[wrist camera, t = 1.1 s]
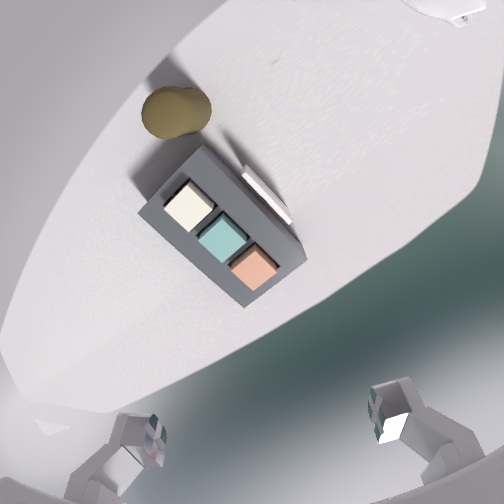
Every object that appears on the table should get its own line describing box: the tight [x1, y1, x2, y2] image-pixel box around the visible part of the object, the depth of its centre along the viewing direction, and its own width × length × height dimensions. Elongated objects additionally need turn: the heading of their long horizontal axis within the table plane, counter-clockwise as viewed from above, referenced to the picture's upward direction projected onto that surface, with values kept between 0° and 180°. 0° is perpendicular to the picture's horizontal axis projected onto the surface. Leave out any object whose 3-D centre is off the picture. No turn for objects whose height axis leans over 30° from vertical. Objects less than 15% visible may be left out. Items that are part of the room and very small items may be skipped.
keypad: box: [138, 144, 307, 308], centre depth 39 cm, size 13×19×5 cm
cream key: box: [164, 179, 215, 232], centre depth 35 cm, size 4×4×3 cm
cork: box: [141, 86, 212, 139], centre depth 29 cm, size 6×6×11 cm
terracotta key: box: [231, 242, 277, 291], centre depth 39 cm, size 4×4×3 cm
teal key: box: [198, 211, 247, 263], centre depth 37 cm, size 4×4×3 cm
